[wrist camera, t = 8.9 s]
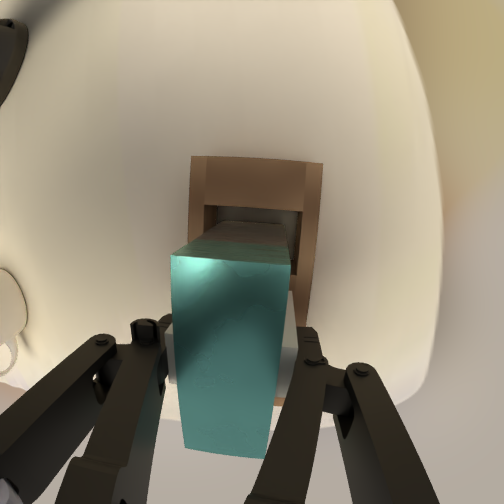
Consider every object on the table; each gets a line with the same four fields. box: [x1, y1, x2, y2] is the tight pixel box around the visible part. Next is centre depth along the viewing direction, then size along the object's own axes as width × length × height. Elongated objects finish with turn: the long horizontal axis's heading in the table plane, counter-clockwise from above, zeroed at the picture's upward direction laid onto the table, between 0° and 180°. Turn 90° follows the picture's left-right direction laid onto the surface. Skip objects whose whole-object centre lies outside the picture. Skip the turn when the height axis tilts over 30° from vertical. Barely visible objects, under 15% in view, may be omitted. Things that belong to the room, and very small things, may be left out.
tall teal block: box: [171, 220, 291, 459], centre depth 15 cm, size 10×4×10 cm, turn 176°
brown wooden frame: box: [188, 156, 323, 406], centre depth 21 cm, size 18×8×4 cm, turn 176°
